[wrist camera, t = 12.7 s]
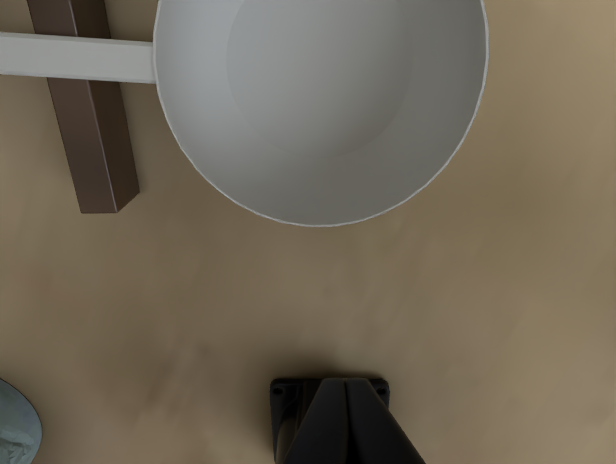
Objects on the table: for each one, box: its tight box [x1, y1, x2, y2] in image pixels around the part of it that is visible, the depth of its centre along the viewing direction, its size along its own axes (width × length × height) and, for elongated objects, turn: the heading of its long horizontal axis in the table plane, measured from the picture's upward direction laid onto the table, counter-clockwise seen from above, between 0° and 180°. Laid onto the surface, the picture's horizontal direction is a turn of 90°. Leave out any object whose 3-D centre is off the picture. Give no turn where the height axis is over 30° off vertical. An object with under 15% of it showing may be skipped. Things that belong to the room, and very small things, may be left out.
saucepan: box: [0, 0, 489, 227], centre depth 16 cm, size 11×18×4 cm, turn 86°
